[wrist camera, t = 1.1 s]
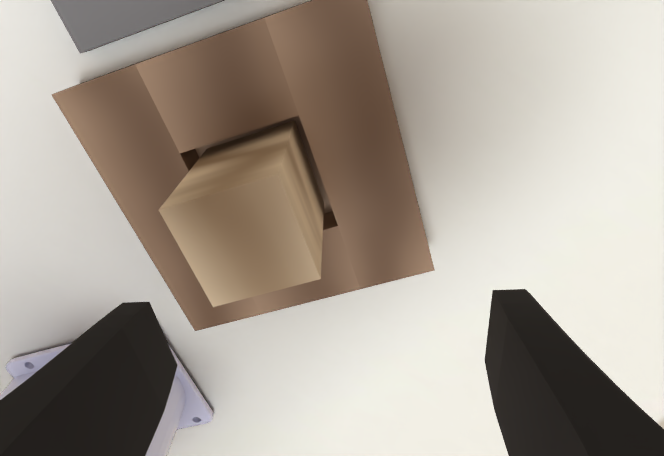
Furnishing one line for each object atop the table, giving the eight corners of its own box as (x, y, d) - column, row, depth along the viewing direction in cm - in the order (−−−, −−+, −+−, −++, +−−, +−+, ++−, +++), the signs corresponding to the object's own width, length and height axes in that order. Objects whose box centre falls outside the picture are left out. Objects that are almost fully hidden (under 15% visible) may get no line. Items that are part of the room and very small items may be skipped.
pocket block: (205, 305, 24) (194, 331, 22) (78, 84, 18) (51, 94, 16) (426, 247, 22) (434, 270, 20) (359, -18, 16) (362, -18, 15)
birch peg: (243, 226, 21) (213, 307, 16) (206, 148, 19) (158, 210, 14) (324, 203, 20) (320, 279, 15) (294, 120, 18) (278, 173, 13)
